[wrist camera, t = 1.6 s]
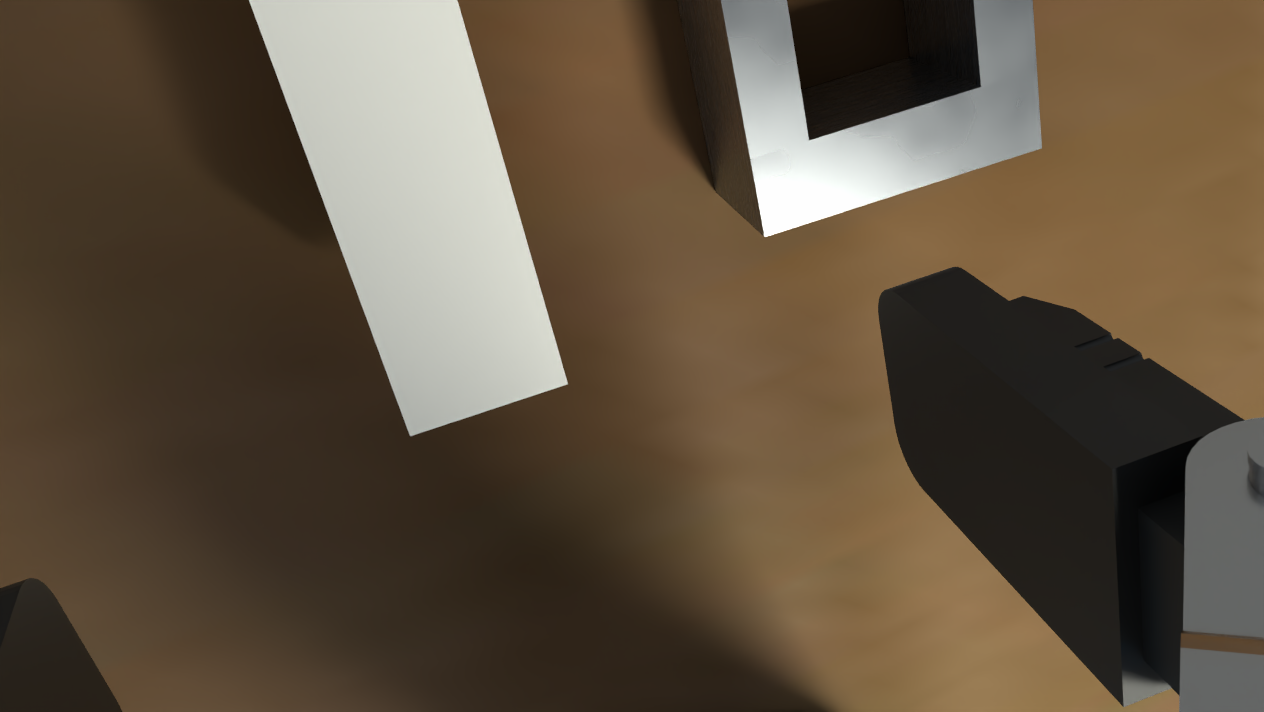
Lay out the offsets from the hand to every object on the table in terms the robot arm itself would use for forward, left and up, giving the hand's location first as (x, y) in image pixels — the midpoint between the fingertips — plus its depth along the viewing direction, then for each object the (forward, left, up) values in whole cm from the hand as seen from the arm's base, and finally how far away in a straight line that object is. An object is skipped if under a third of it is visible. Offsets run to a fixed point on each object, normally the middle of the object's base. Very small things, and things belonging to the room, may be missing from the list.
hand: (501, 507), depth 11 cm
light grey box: (0, 0, -18) cm, 18 cm away
